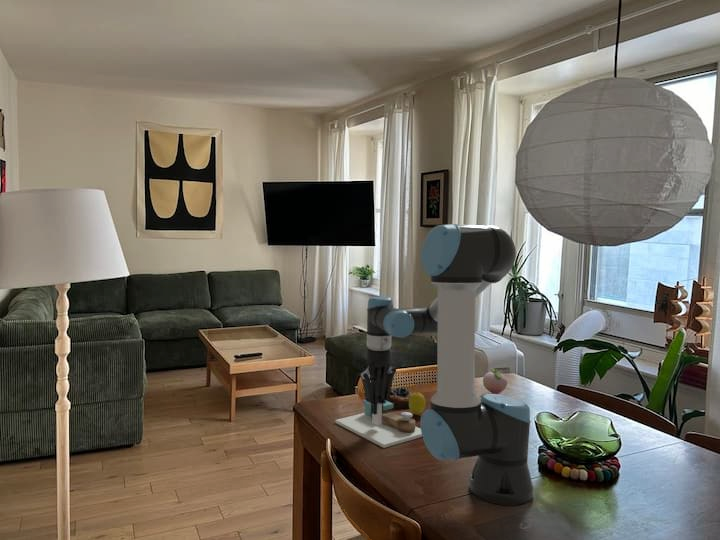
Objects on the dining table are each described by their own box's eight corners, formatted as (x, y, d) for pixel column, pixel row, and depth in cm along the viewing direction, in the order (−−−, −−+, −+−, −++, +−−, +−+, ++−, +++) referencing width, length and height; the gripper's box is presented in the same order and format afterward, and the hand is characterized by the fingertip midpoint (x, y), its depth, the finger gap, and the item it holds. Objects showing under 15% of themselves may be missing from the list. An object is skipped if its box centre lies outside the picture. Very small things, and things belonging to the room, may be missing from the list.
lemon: (424, 412, 196) (425, 389, 195) (424, 418, 191) (425, 394, 190) (408, 411, 197) (409, 388, 196) (408, 417, 191) (409, 393, 190)
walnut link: (418, 429, 177) (419, 421, 177) (406, 433, 173) (407, 425, 173) (381, 415, 188) (381, 408, 188) (369, 419, 184) (369, 411, 184)
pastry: (376, 402, 206) (376, 386, 206) (403, 397, 213) (403, 382, 212) (393, 411, 197) (394, 394, 197) (421, 406, 203) (422, 390, 203)
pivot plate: (427, 435, 176) (428, 416, 175) (384, 447, 165) (384, 427, 165) (377, 412, 195) (378, 395, 194) (335, 422, 184) (335, 404, 183)
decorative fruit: (478, 391, 222) (479, 366, 221) (497, 390, 224) (499, 365, 223) (489, 399, 213) (490, 372, 212) (509, 398, 215) (511, 372, 214)
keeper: (392, 421, 186) (393, 403, 186) (378, 425, 183) (379, 407, 182) (376, 414, 193) (376, 396, 192) (362, 417, 189) (362, 399, 189)
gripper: (370, 352, 168) (367, 431, 170) (403, 347, 176) (400, 422, 178) (354, 348, 174) (352, 424, 176) (387, 343, 182) (384, 416, 184)
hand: (376, 423), depth 177 cm, fingers closed
